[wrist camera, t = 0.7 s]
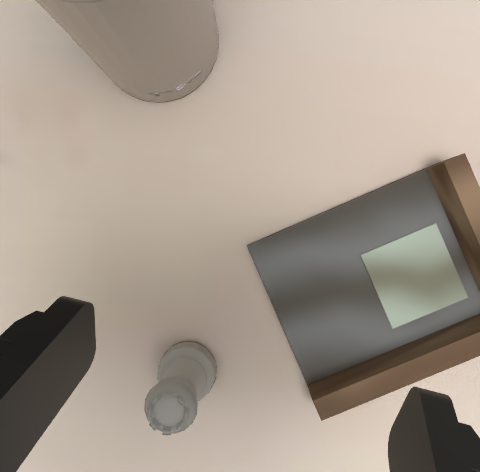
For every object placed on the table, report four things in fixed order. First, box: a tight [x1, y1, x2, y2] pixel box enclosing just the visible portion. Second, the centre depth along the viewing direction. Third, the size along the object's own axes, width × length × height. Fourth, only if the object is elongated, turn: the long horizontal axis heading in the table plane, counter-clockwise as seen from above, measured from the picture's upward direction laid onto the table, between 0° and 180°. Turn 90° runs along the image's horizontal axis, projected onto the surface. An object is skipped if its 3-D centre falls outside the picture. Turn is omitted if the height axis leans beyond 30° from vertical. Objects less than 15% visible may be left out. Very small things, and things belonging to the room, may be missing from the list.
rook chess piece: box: [145, 342, 217, 435], centre depth 28 cm, size 4×4×8 cm
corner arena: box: [247, 153, 480, 421], centre depth 30 cm, size 13×16×4 cm
